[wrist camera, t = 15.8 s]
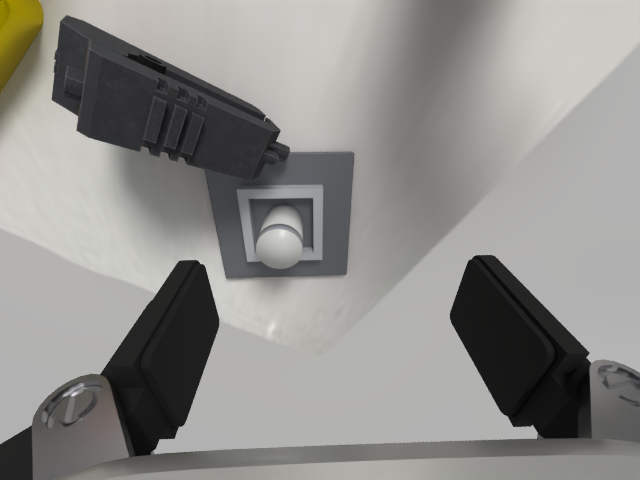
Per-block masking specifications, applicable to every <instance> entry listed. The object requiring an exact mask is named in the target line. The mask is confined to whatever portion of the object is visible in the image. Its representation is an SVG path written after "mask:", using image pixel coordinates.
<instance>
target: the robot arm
mask: <svg viewBox="0 0 640 480" xmlns="http://www.w3.org/2000/svg"><path fill="white" fill-rule="evenodd" d="M450 320H451V323H452V325H453V326H454V328H455V330H456V332H457V333H458V335H459V337H460V339H461V341H462V342H463V344H464V346H465V348H466V350H467V352H468V354H469V355H470V357H471V359H472V361H473V362H474V364H475V366H476V368H477V370H478V372H479V373H480V375H481V377H482V379H483V381H484V382H485V384H486V386H487V388H488V390H489V391H490V393H491V395H492V397H493V399H494V400H495V402H496V404H497V406H498V407H499V409H500V411H501V412H502V413H503V414H504V415H506V416H508V418H509V419H510V421H511V423H512V425H513V427H522V426H523V427H524V426H532V425H533V426H534V427H535V429H536V430H537V432H538V437H537V439H508V440H479V441H478V440H475V441H443V442H413V443H387V444H386V443H385V444H357V445H333V446H332V445H330V446H307V447H306V446H304V447H280V448H258V449H257V448H256V449H232V450H213V451H198V452H197V451H196V452H180V453H164V454H154V452H153V450H155V449H156V447H157V444H158V442H159V439H174V438H175V435H176V433H177V430H178V427H179V426H180V427H181V426H183V425H184V424H185V422H186V420H187V417H188V414H189V411H190V408H191V405H192V402H193V399H194V397H195V394H196V391H197V388H198V385H199V382H200V379H201V377H202V374H203V371H204V368H205V365H206V362H207V359H208V357H209V354H210V351H211V348H212V345H213V342H214V339H215V337H216V334H217V331H218V328H219V316H218V313H217V309H216V305H215V301H214V298H213V294H212V290H211V287H210V283H209V279H208V275H207V272H206V268H205V266H204V265H203V264H200V263H199V261H197V260H185V261H179V262H178V263H177V265H176V266H175V268H174V269H173V270H172V272H171V273H170V275H169V276H168V278H167V279H166V281H165V282H164V284H163V285H162V287H161V288H160V290H159V291H158V293H157V294H156V296H155V297H154V299H153V300H152V301H151V302H150V303H149V304H148V305H147V306H146V308H145V310H144V311H143V312H142V314H141V315H140V317H139V318H138V320H137V321H136V323H135V324H134V326H133V327H132V329H131V330H130V331H129V333H128V334H127V336H126V337H125V339H124V340H123V342H122V343H121V345H120V346H119V348H118V349H117V351H116V352H115V354H114V355H113V356H112V358H111V359H110V361H109V362H108V364H107V365H106V367H105V368H104V370H103V371H102V373H101V374H100V375H99V374H89V375H85V376H80V377H78V378H76V379H73V380H71V381H69V382H67V383H65V384H64V385H62V386H61V387H59V388H58V389H56V390H55V391H54V392H53V393H52V394H50V395H49V396H48V397H47V398H46V399H45V401H44V402H43V403H42V404H41V405H40V406H39V408H38V410H37V411H36V413H35V415H34V418H33V422H32V426H30V427H29V428H27V429H25V430H23V431H22V432H20V433H19V434H17V435H15V436H13V437H12V438H10V439H8V440H7V441H5V442H4V443H2V444H0V480H640V373H639V372H637V371H636V370H634V369H632V368H630V367H628V366H626V365H623V364H620V363H617V362H614V361H609V360H597V361H594V362H593V363H590V361H589V360H588V359H587V358H586V357H587V356H588V355H589V352H588V351H587V350H586V349H585V348H584V347H583V346H582V345H581V344H580V342H579V341H577V339H576V338H575V337H574V336H573V335H572V334H571V333H570V332H569V331H568V330H567V329H566V328H565V327H564V326H563V325H562V324H561V323H560V322H559V321H558V320H557V319H556V318H555V317H554V316H553V315H552V314H551V313H550V312H549V311H548V310H547V309H546V308H545V307H544V306H543V305H542V304H541V303H540V302H539V301H538V300H537V299H536V298H535V297H534V296H533V295H532V294H531V293H530V291H529V290H528V289H527V288H526V287H525V286H524V285H523V284H522V283H521V282H520V281H518V279H517V278H516V277H515V276H514V275H513V274H512V273H511V272H510V271H509V270H508V269H507V268H506V267H505V266H504V265H503V264H502V263H501V262H500V261H499V260H498V259H497V258H496V257H495V256H492V255H478V256H477V255H476V256H474V257H473V258H472V260H469V261H468V263H467V266H466V269H465V271H464V274H463V277H462V281H461V283H460V286H459V289H458V292H457V295H456V298H455V300H454V303H453V306H452V309H451V312H450Z"/></svg>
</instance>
